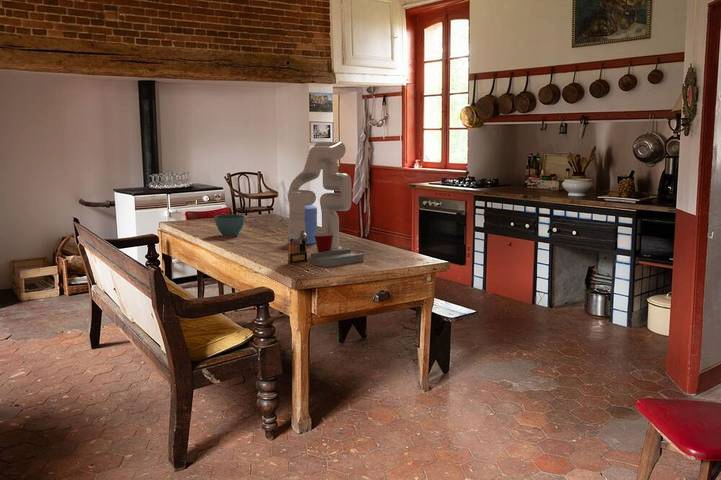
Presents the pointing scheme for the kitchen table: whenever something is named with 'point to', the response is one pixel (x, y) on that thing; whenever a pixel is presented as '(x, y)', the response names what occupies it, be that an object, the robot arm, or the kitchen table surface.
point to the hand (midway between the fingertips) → (297, 250)
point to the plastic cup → (323, 241)
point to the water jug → (310, 223)
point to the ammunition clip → (296, 253)
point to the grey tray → (336, 258)
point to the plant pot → (229, 224)
